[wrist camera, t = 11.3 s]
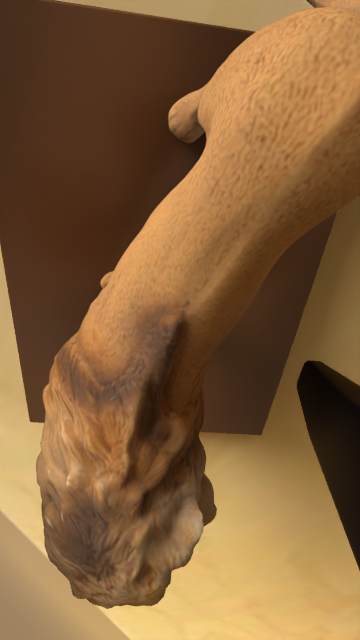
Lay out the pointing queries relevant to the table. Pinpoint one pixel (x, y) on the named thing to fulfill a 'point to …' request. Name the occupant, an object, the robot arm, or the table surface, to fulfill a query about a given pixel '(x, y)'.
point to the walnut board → (118, 187)
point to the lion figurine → (192, 304)
